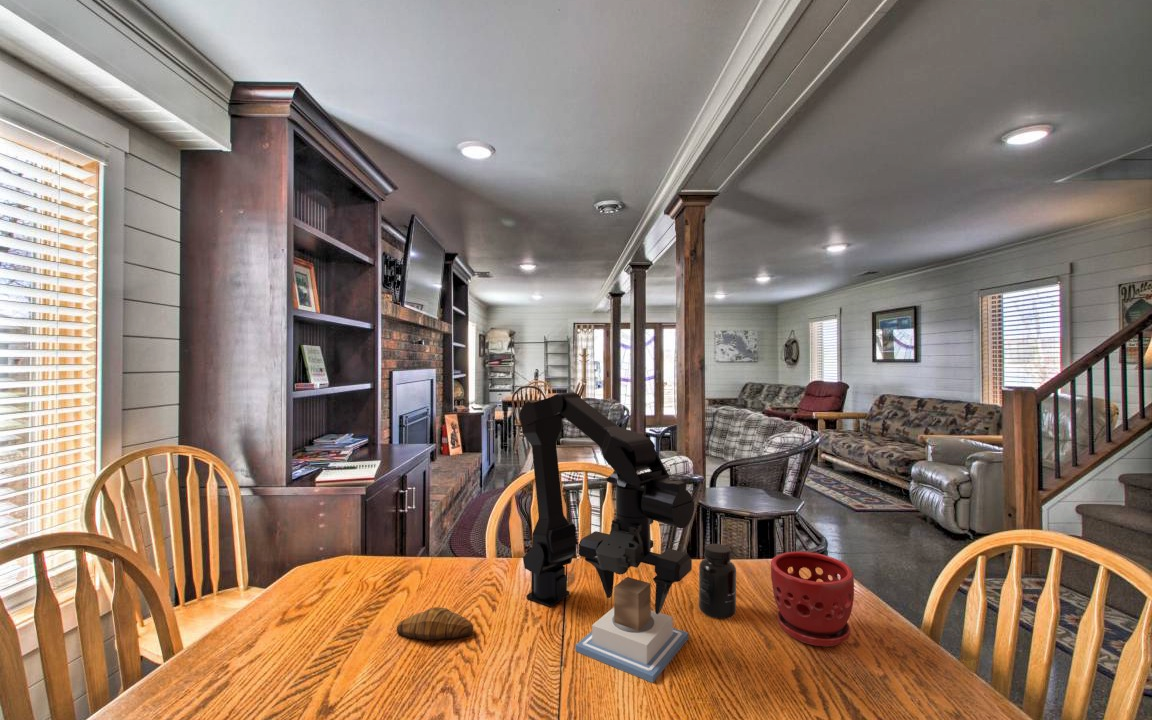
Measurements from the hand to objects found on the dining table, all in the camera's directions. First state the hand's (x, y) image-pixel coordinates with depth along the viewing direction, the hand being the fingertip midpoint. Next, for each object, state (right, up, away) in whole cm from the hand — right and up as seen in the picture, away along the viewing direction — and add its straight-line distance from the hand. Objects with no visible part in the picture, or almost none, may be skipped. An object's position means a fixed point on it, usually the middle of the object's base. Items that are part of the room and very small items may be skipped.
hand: (632, 605), depth 83 cm
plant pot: (+32, -7, +4) cm, 33 cm away
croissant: (-34, -7, +3) cm, 35 cm away
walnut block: (0, -3, 0) cm, 3 cm away
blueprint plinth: (0, -7, 0) cm, 7 cm away
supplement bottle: (+17, -7, +11) cm, 22 cm away
